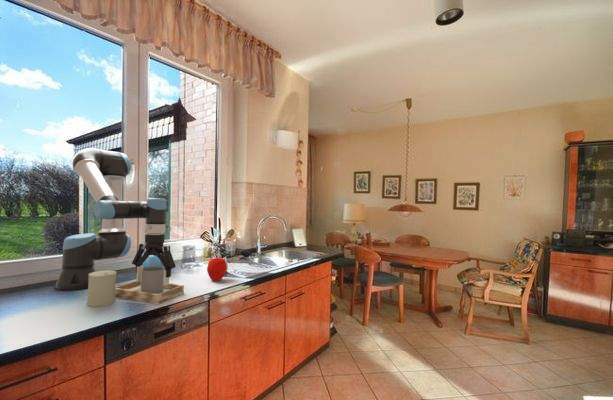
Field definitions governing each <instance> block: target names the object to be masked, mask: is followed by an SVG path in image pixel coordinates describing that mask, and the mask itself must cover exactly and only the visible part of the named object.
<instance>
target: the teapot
mask: <svg viewBox="0 0 613 400" xmlns="http://www.w3.org/2000/svg"><path fill="white" fill-rule="evenodd" d="M143 254H144V253H143ZM160 254H161V253H160ZM142 256H143V255H142ZM141 266H143V268H146V267H163V268H164V270H165V267H164V266H163V264H162V262H161V261H160V259H159V258H158V257H157V256H153V255H149V257H148V258H147V259H146V260H145V261H144V263H143V264H142V265H141Z"/></svg>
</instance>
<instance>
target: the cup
mask: <svg viewBox="0 0 613 400" xmlns="http://www.w3.org/2000/svg"><path fill="white" fill-rule="evenodd" d="M163 277H164V268H163V267H146V268H143V269H142V278H141V292H148V293H155V294H159V293H162V292H163Z"/></svg>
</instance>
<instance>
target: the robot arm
mask: <svg viewBox="0 0 613 400" xmlns="http://www.w3.org/2000/svg"><path fill="white" fill-rule="evenodd" d="M71 163H72V164H71V165H72V168H73V170H74V171H75V173H76V174H77V175H78V176H80V177H81V179H82V180H83V182H84V184H85V185H86V187H87V189H88V191H89V192H90V194H91V195H92V197H93V199H94V201H95V202H94V206H93V214H94V216H95V217H96V218H97V219H100V220H101V229H100V230H99V231H98V232H97V234H98V235H97V234H96V233H94V232H93V233H92V232H89V233H80V234H72V235H70V236H67V237H65V238H64V239H63V245H62V261H61V272H60V273H59V275H58V278H57V280H56V283H55V289H57V290H59V291H60V290H61V291H74V290H83V289H88V283H89V274H90V273H92V272H96V269H95V261H102V260H110V259H111V260H112V259H118V258H123V257H125V256H127V255H128V254H129V252H130V251H131V246H132V238H131V236H130V235H129V234H128V233H127V230H126V229H125V228H123V220H124V219H127V220H128V219H129V220H130V219H131V220H133V219H144V220H145V233H146V234H145V236H144V243H140V244H138V250H137V251H136V253H135V256H134V258H133V260H132V262H131V264H132V265H135V274H136V278H135V279H136V280H135V281H136V282H139V281H141V278H142V269H143V266H141V265H142V264H143V263H144V261H145V260H146V259H147V258H148V257H149V255H153V256H157V257H158V258H159V259H160V261H161V262H162V264H163V266H164V267H165V270H164V277H163V286H165V285H168V284H169V283H170V277H171V276H172V269H175V268H176V264H175V260H174V258H173V255H172V252H171V246H170V245H165V246H164V243H165V241H166V240H165V239H166V234H165V233H166V219H167V218H166V217H167V207H168V206H167V199H166V198H164V197H163V198H162V197H161V198H160V197H148V198H147V200H146V201H142V200H136V201H133V200H132V201H131V200H123V181H125V180H126V179H127V176H129V175H130V174H131V171H132V163H131V159H130V158H129V157H128V155H127V154H125V153H123V152H119V151H114V150H113V151H112V150H107V149H99V148H95V147H93V148H92V147H89V148H84V149H82V150H80V151H78V152H77V153H76V154H75V155H74V156H73V158H72V162H71ZM143 253H144V254H143ZM160 253H161V254H160ZM142 255H143V256H142Z"/></svg>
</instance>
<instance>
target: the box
mask: <svg viewBox="0 0 613 400" xmlns="http://www.w3.org/2000/svg"><path fill="white" fill-rule="evenodd" d="M184 289H185V285H184V284H179V283H170V282H169V284H168V285H165V286H163V292H162V293H159V294H155V293H148V292H141V281H139V282H136V280H134V281H130V282H126V283H124V284H123V283H122V284H120V285H116V291H115V299H116V298H117V299H122V300H130V301H135V302H144V303H147V304H156V305H160V304H162V303H165V302H167V301H170V300H171V299H173V298H176V297H179V296H180V295H182V294H184V293H185V292H184V291H185V290H184Z"/></svg>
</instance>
